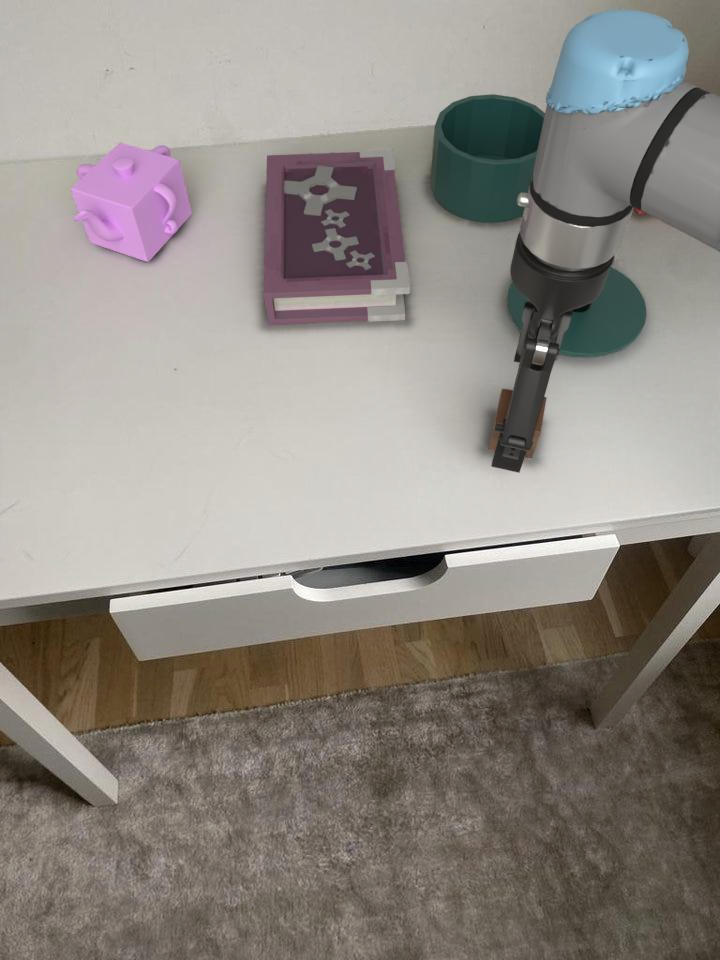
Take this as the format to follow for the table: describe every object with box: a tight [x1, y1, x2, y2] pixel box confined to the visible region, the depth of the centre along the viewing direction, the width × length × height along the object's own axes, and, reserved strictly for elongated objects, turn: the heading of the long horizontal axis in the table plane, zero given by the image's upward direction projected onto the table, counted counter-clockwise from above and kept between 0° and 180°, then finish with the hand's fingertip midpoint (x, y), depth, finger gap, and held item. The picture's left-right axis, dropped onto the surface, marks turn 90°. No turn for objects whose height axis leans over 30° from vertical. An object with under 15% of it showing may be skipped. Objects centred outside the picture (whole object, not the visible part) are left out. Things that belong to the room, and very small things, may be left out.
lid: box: [506, 266, 647, 358], centre depth 85 cm, size 16×16×10 cm
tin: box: [429, 93, 545, 224], centre depth 98 cm, size 15×15×8 cm
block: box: [488, 388, 548, 459], centre depth 77 cm, size 4×4×4 cm
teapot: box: [70, 141, 193, 263], centre depth 92 cm, size 18×14×10 cm
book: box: [263, 148, 411, 326], centre depth 93 cm, size 25×16×5 cm, turn 3°
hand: (516, 411), depth 76 cm, fingers open, 13 cm apart
